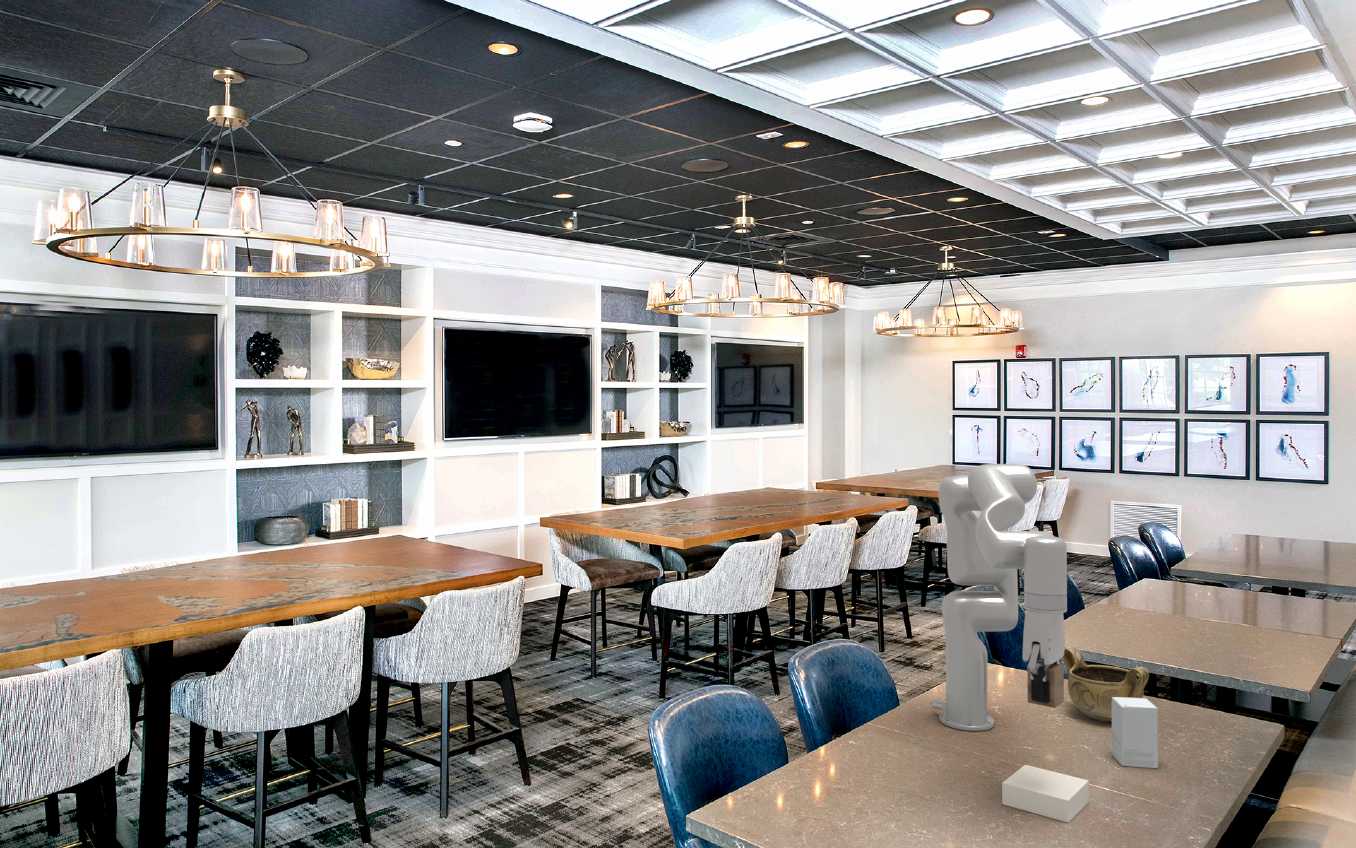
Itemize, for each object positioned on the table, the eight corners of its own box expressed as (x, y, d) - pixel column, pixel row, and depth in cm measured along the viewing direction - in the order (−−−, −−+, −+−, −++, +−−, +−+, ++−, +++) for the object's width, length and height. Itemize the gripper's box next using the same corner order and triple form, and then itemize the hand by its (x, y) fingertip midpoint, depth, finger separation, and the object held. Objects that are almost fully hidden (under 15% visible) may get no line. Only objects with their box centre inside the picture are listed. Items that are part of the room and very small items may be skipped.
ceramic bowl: (1043, 709, 223) (1043, 650, 223) (1090, 700, 230) (1089, 642, 230) (1122, 737, 203) (1121, 672, 203) (1170, 726, 210) (1170, 663, 210)
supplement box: (1159, 769, 184) (1158, 708, 184) (1120, 766, 185) (1120, 706, 185) (1147, 756, 191) (1147, 697, 191) (1110, 753, 193) (1110, 695, 193)
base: (1002, 804, 167) (1002, 783, 167) (1025, 784, 176) (1025, 764, 176) (1068, 823, 159) (1068, 800, 159) (1089, 801, 168) (1088, 780, 168)
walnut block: (1027, 702, 167) (1027, 665, 167) (1036, 696, 171) (1036, 660, 171) (1054, 708, 164) (1054, 670, 164) (1063, 701, 167) (1063, 664, 168)
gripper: (1040, 593, 176) (1041, 684, 176) (1008, 606, 163) (1009, 704, 163) (1080, 598, 171) (1080, 692, 171) (1050, 611, 159) (1050, 713, 158)
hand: (1045, 697), depth 167 cm, fingers closed on walnut block, 5 cm apart
